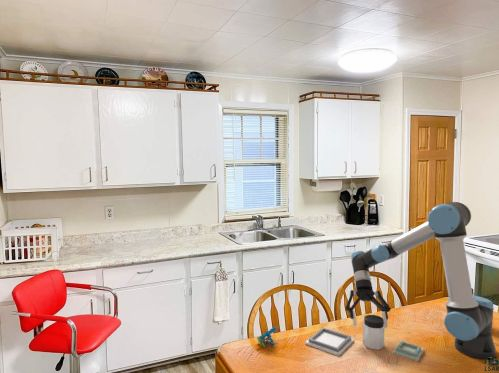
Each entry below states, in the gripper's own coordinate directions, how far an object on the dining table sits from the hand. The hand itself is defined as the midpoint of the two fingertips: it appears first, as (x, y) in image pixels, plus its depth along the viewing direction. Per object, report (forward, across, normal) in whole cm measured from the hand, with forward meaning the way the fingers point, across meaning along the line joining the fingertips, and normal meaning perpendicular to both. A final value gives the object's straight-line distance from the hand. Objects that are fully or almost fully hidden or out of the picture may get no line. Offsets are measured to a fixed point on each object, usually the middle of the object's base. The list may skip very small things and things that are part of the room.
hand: (370, 326), depth 162 cm
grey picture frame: (+6, +18, -4) cm, 20 cm away
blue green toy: (+7, +46, -4) cm, 47 cm away
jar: (+7, -1, -4) cm, 8 cm away
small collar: (+10, -14, 0) cm, 18 cm away
